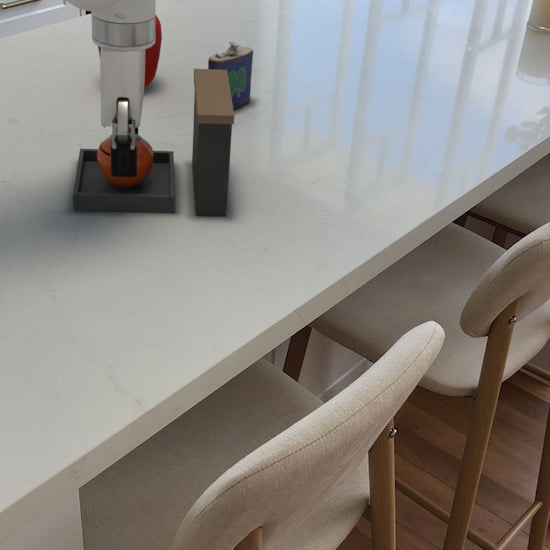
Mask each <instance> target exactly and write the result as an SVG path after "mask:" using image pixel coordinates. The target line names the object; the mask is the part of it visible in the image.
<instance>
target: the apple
mask: <svg viewBox="0 0 550 550" xmlns="http://www.w3.org/2000/svg"><path fill="white" fill-rule="evenodd" d="M155 15H156V19H155V44H154V45H153V46H152V47H150V48H147V49H145V82H144V90H146V88H147V87H148V86H149V85H150V84H151V83H152V82H153V80H154V79H155V78H156V74H157V70H158V65H159V62H160V61H159V60H160V57H161V56H160V55H161V50H162V49H161V47H162V41H163V35H162V24H161V21H160V19H159V17H158V15H157V14H156V13H155ZM97 49H98V55H99V56H100V55H101V47H99V46H97Z"/></svg>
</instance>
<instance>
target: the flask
mask: <svg viewBox="0 0 550 550" xmlns="http://www.w3.org/2000/svg"><path fill="white" fill-rule="evenodd" d="M228 43H229V45H230V46H229V47H228V48H227V49H226V51H225V52H221V53H218V52H215V54H213V55H210V56H209V57H208V60H207V65H208V66H207V67H208V68H207V69H216V70H227V73H228V79H229V85H230V91H231V98H232V104H233V110H234V111H236V110H239V109H241V108H243V107H245V106H248V104H249V103H250V101H251V90H252V89H251V87H252V74H253V73H252V72H253V58H254V49H253V48H252V47H248V46H241V44H240V45H239V44H237V43H235V42H234V41H228Z"/></svg>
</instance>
